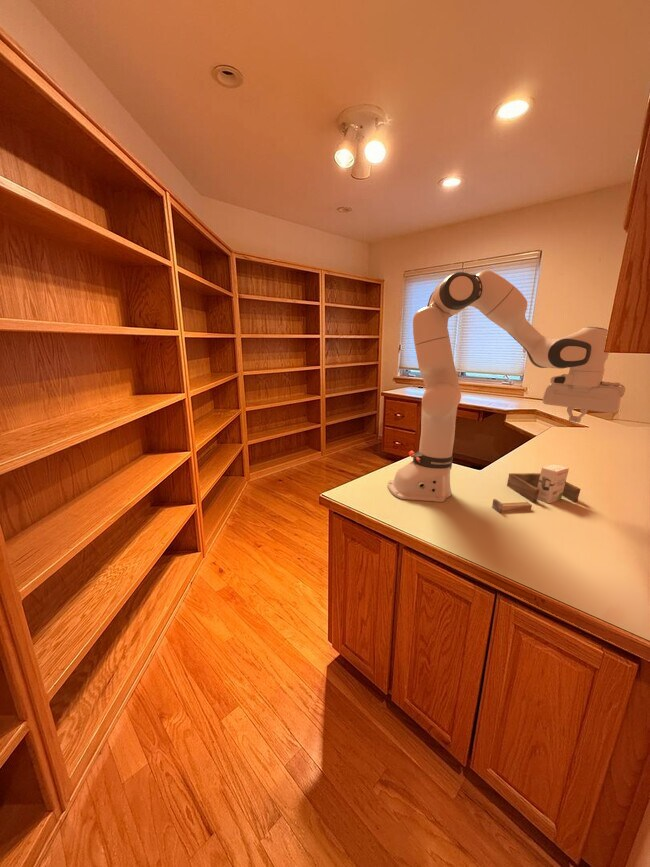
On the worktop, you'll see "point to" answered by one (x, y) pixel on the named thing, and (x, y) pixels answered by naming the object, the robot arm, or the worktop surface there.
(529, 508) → the beech bar
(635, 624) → the worktop surface
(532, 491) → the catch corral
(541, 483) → the ink box
